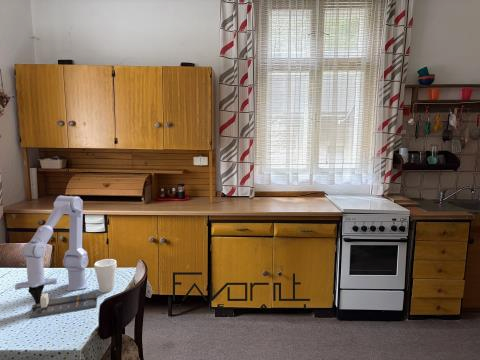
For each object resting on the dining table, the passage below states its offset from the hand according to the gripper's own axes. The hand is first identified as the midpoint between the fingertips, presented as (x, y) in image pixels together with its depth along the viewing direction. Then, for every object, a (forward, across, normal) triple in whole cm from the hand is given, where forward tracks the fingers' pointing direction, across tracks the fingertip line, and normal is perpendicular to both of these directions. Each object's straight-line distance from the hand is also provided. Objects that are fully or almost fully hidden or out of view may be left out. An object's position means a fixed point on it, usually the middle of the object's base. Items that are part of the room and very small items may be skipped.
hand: (38, 303), depth 138 cm
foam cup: (+3, +26, +10) cm, 28 cm away
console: (+3, +10, 0) cm, 11 cm away
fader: (+1, +2, 0) cm, 3 cm away
